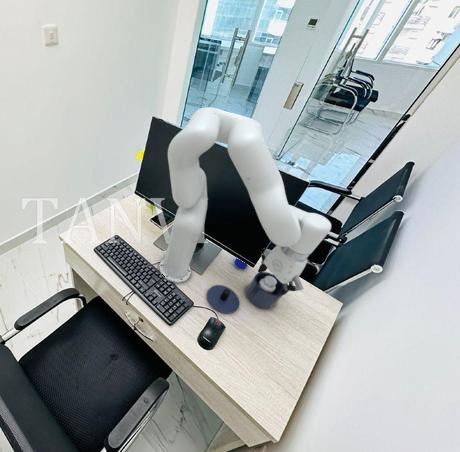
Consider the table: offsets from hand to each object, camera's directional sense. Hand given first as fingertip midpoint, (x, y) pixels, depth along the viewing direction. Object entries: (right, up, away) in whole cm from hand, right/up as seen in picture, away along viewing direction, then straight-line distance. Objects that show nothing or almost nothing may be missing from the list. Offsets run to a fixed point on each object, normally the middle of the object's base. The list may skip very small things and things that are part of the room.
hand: (270, 282), depth 89 cm
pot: (0, -7, +6) cm, 9 cm away
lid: (-15, -7, +4) cm, 17 cm away
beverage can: (-3, +3, +17) cm, 18 cm away
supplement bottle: (-1, -7, +6) cm, 9 cm away
